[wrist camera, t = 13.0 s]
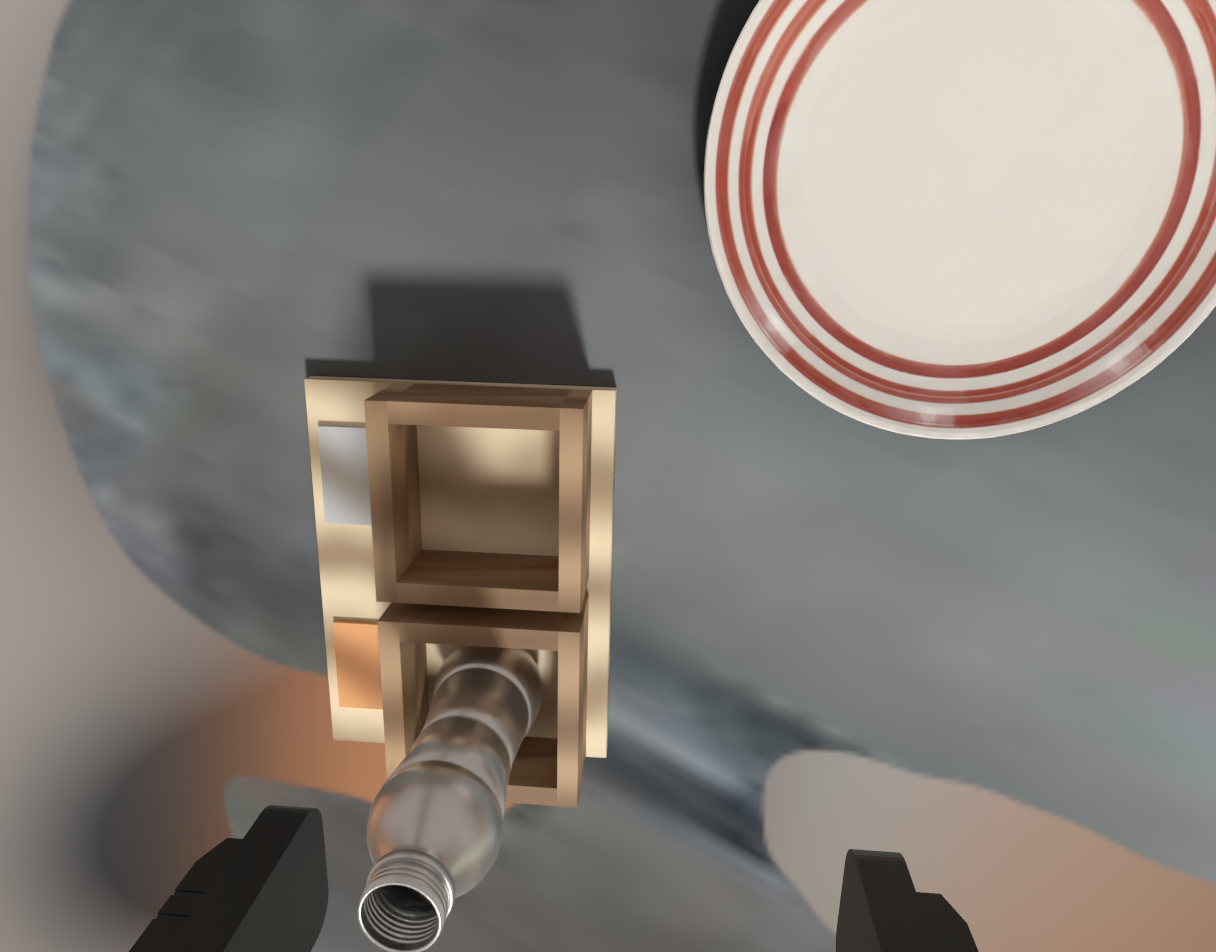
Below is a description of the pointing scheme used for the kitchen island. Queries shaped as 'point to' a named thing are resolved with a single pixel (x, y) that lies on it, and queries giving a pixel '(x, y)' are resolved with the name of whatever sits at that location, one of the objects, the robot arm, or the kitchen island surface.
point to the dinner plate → (967, 201)
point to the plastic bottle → (447, 796)
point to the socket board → (466, 555)
